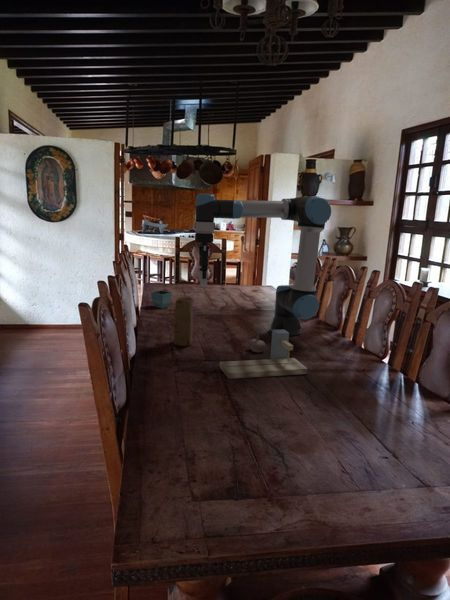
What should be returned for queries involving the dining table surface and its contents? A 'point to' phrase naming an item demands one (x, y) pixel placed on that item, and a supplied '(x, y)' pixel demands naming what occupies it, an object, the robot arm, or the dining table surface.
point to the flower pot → (161, 298)
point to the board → (262, 368)
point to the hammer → (280, 345)
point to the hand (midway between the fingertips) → (202, 283)
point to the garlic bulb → (257, 344)
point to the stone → (183, 321)
